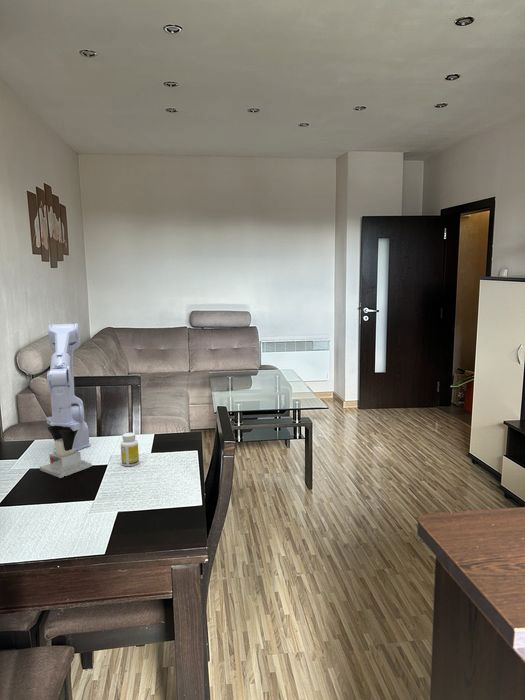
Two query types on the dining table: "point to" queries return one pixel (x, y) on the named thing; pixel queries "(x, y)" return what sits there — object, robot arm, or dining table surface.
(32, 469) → the dining table surface
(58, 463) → the stand
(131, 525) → the dining table surface
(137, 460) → the supplement bottle
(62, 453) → the rectangular block
